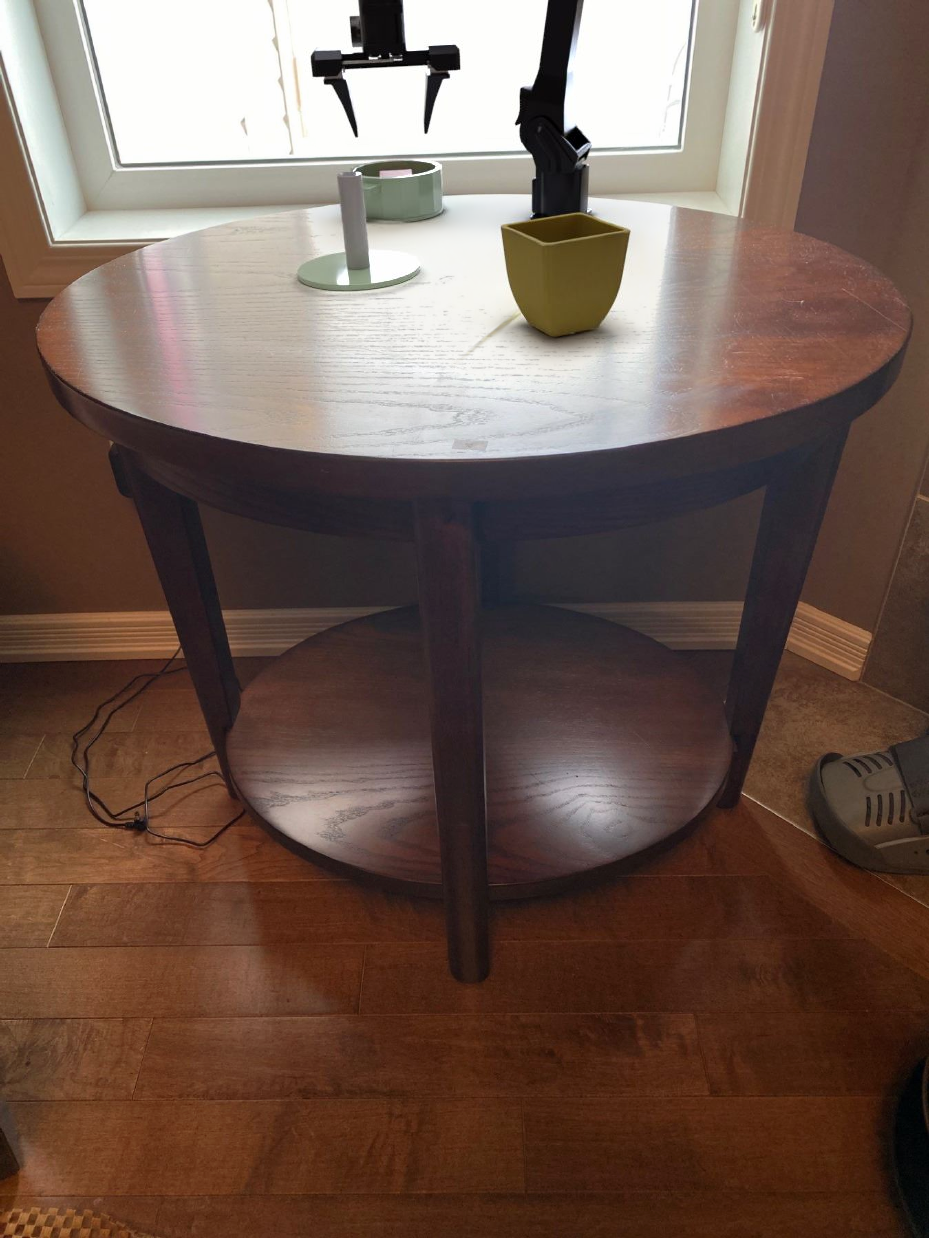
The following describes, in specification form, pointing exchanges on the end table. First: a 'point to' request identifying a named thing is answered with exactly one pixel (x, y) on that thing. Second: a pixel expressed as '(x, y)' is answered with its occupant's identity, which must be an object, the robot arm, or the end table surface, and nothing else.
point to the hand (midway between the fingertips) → (391, 135)
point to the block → (395, 173)
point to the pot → (402, 190)
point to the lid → (356, 250)
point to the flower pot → (565, 270)
